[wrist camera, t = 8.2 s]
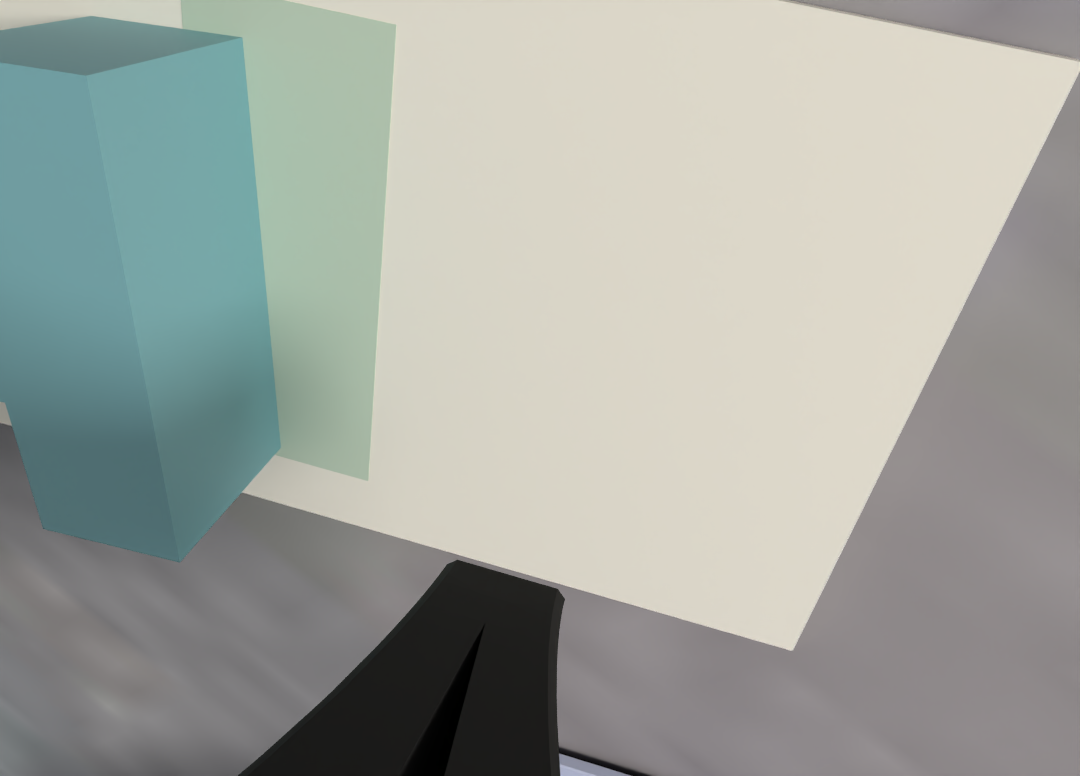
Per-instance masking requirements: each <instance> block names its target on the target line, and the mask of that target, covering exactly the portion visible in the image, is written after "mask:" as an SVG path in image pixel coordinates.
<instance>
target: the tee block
mask: <svg viewBox="0 0 1080 776" xmlns="http://www.w3.org/2000/svg"><path fill="white" fill-rule="evenodd" d="M0 402H4V403H5V404H6V408H7V411H8V414H9V418H10V421H11V424H12V427H13V431H14V434H15V437H16V441H17V444H18V447H19V451H20V454H21V457H22V460H23V464H24V467H25V470H26V474H27V477H28V480H29V483H30V487H31V490H32V493H33V497H34V500H35V503H36V507H37V510H38V513H39V516H40V520H41V523H42V526H43V529H46V530H50V531H54V532H58V533H62V534H66V535H70V536H74V537H78V538H83V539H87V540H91V541H95V542H99V543H103V544H107V545H111V546H115V547H119V548H123V549H127V550H131V551H135V552H139V553H143V554H148V555H152V556H156V557H160V558H164V559H168V560H172V561H176V562H181V561H182V559H183V558H184V557H185V556H186V555H187V554H188V553H189V552H190V550H191V549H192V548H193V547H194V546H195V545H196V544H197V542H198V541H199V540H200V539H201V538H202V537H203V536H204V534H205V533H206V532H207V531H208V530H209V529H210V528H211V527H212V525H213V524H214V523H215V522H216V521H217V520H218V519H219V517H220V516H221V515H222V514H223V513H224V512H225V511H226V510H227V508H228V507H229V506H230V505H231V504H232V503H233V502H234V500H235V499H236V498H237V497H238V496H239V495H240V494H241V492H242V491H243V490H244V489H245V488H246V487H247V486H248V485H249V483H250V482H251V481H252V480H253V479H254V478H255V477H256V475H257V474H258V473H259V472H260V471H261V470H262V469H263V468H264V466H265V465H266V464H267V463H268V462H269V461H270V460H271V458H272V457H273V456H274V455H275V454H276V453H277V452H278V451H279V449H280V448H281V443H280V432H279V421H278V411H277V400H276V389H275V379H274V368H273V357H272V347H271V336H270V325H269V315H268V304H267V293H266V283H265V272H264V262H263V251H262V240H261V230H260V219H259V208H258V198H257V187H256V176H255V166H254V155H253V144H252V134H251V123H250V112H249V102H248V91H247V80H246V70H245V59H244V48H243V38H242V37H236V36H229V35H222V34H215V33H208V32H201V31H194V30H187V29H180V28H173V27H166V26H159V25H152V24H145V23H138V22H131V21H124V20H117V19H110V18H103V17H96V16H88V17H81V18H75V19H68V20H62V21H56V22H49V23H43V24H37V25H30V26H24V27H18V28H11V29H5V30H0Z"/></svg>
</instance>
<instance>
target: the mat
mask: <svg viewBox="0 0 1080 776" xmlns="http://www.w3.org/2000/svg"><path fill="white" fill-rule="evenodd" d="M88 16H96V17H103V18H110V19H117V20H124V21H131V22H138V23H145V24H152V25H159V26H166V27H173V28H180V29H187V30H194V31H201V32H208V33H215V34H222V35H229V36H236V37H242V38H243V48H244V59H245V70H246V80H247V91H248V102H249V112H250V123H251V134H252V144H253V155H254V166H255V176H256V187H257V198H258V208H259V219H260V230H261V240H262V251H263V262H264V272H265V283H266V293H267V304H268V315H269V325H270V336H271V347H272V357H273V368H274V379H275V389H276V400H277V411H278V421H279V432H280V443H281V448H280V449H279V451H278V452H277V453H276V454H275V455H274V456H273V457H272V458H271V460H270V461H269V462H268V463H267V464H266V465H265V466H264V468H263V469H262V470H261V471H260V472H259V473H258V474H257V475H256V477H255V478H254V479H253V480H252V481H251V482H250V483H249V485H248V486H247V487H246V488H245V489H244V490H243V491H242V493H246V494H249V495H253V496H256V497H260V498H263V499H267V500H270V501H274V502H277V503H281V504H284V505H288V506H291V507H294V508H298V509H301V510H305V511H308V512H312V513H315V514H319V515H322V516H326V517H329V518H333V519H336V520H340V521H343V522H347V523H350V524H353V525H357V526H360V527H364V528H367V529H371V530H374V531H378V532H381V533H385V534H388V535H392V536H395V537H399V538H402V539H406V540H409V541H412V542H416V543H419V544H423V545H426V546H430V547H433V548H437V549H440V550H444V551H447V552H451V553H454V554H458V555H461V556H465V557H468V558H472V559H475V560H478V561H482V562H485V563H489V564H492V565H496V566H499V567H503V568H506V569H510V570H513V571H517V572H520V573H524V574H527V575H531V576H534V577H537V578H541V579H544V580H548V581H551V582H555V583H558V584H562V585H565V586H569V587H572V588H576V589H579V590H583V591H586V592H590V593H593V594H596V595H600V596H603V597H607V598H610V599H614V600H617V601H621V602H624V603H628V604H631V605H635V606H638V607H642V608H645V609H649V610H652V611H656V612H659V613H662V614H666V615H669V616H673V617H676V618H680V619H683V620H687V621H690V622H694V623H697V624H701V625H704V626H708V627H711V628H715V629H718V630H721V631H725V632H728V633H732V634H735V635H739V636H742V637H746V638H749V639H753V640H756V641H760V642H763V643H767V644H770V645H774V646H777V647H780V648H784V649H787V650H791V651H793V649H794V647H795V645H796V643H797V641H798V639H799V637H800V635H801V633H802V631H803V629H804V627H805V625H806V623H807V621H808V619H809V617H810V615H811V613H812V611H813V609H814V607H815V605H816V603H817V600H818V598H819V596H820V594H821V592H822V590H823V588H824V586H825V584H826V582H827V580H828V578H829V576H830V574H831V572H832V570H833V568H834V566H835V564H836V562H837V560H838V558H839V556H840V554H841V552H842V550H843V548H844V546H845V544H846V542H847V540H848V538H849V536H850V534H851V532H852V530H853V528H854V526H855V524H856V522H857V520H858V518H859V516H860V514H861V512H862V510H863V508H864V506H865V504H866V502H867V500H868V498H869V496H870V493H871V491H872V489H873V487H874V485H875V483H876V481H877V479H878V477H879V475H880V473H881V471H882V469H883V467H884V465H885V463H886V461H887V459H888V457H889V455H890V453H891V451H892V449H893V447H894V445H895V443H896V441H897V439H898V437H899V435H900V433H901V431H902V429H903V427H904V425H905V423H906V421H907V419H908V417H909V415H910V413H911V411H912V409H913V407H914V405H915V403H916V401H917V399H918V397H919V395H920V393H921V391H922V389H923V387H924V384H925V382H926V380H927V378H928V376H929V374H930V372H931V370H932V368H933V366H934V364H935V362H936V360H937V358H938V356H939V354H940V352H941V350H942V348H943V346H944V344H945V342H946V340H947V338H948V336H949V334H950V332H951V330H952V328H953V326H954V324H955V322H956V320H957V318H958V316H959V314H960V312H961V310H962V308H963V306H964V304H965V302H966V300H967V298H968V296H969V294H970V292H971V290H972V288H973V286H974V284H975V282H976V280H977V278H978V275H979V273H980V271H981V269H982V267H983V265H984V263H985V261H986V259H987V257H988V255H989V253H990V251H991V249H992V247H993V245H994V243H995V241H996V239H997V237H998V235H999V233H1000V231H1001V229H1002V227H1003V225H1004V223H1005V221H1006V219H1007V217H1008V215H1009V213H1010V211H1011V209H1012V207H1013V205H1014V203H1015V201H1016V199H1017V197H1018V195H1019V193H1020V191H1021V189H1022V187H1023V185H1024V183H1025V181H1026V179H1027V177H1028V175H1029V173H1030V171H1031V169H1032V166H1033V164H1034V162H1035V160H1036V158H1037V156H1038V154H1039V152H1040V150H1041V148H1042V146H1043V144H1044V142H1045V140H1046V138H1047V136H1048V134H1049V132H1050V130H1051V128H1052V126H1053V124H1054V122H1055V120H1056V118H1057V116H1058V114H1059V112H1060V110H1061V108H1062V106H1063V104H1064V102H1065V100H1066V98H1067V96H1068V94H1069V92H1070V90H1071V88H1072V86H1073V84H1074V82H1075V80H1076V78H1077V76H1078V74H1079V72H1080V61H1079V60H1077V59H1075V58H1071V57H1066V56H1061V55H1056V54H1051V53H1046V52H1041V51H1036V50H1031V49H1026V48H1021V47H1016V46H1011V45H1007V44H1002V43H997V42H992V41H987V40H982V39H977V38H972V37H967V36H962V35H957V34H952V33H948V32H943V31H938V30H933V29H928V28H923V27H918V26H913V25H908V24H903V23H898V22H893V21H889V20H884V19H879V18H874V17H869V16H864V15H859V14H854V13H849V12H844V11H839V10H834V9H830V8H825V7H820V6H815V5H810V4H805V3H800V2H795V1H790V0H0V30H5V29H11V28H18V27H24V26H30V25H37V24H43V23H49V22H56V21H62V20H68V19H75V18H81V17H88ZM0 423H3V424H6V425H10V426H12V424H11V421H10V418H9V414H8V411H7V408H6V404H5V403H4V402H0Z"/></svg>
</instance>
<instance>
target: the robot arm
mask: <svg viewBox="0 0 1080 776" xmlns="http://www.w3.org/2000/svg"><path fill="white" fill-rule="evenodd" d="M564 601H565V599H564V597H563V596H562V594H561V593H560V592H559V590H558V589H556V588H552V587H549V586H546V585H542V584H539V583H535V582H532V581H528V580H525V579H521V578H518V577H515V576H511V575H508V574H504V573H501V572H497V571H494V570H490V569H487V568H484V567H480V566H477V565H473V564H470V563H466V562H463V561H459V560H456V561H454V562H452V563H449V564H447V565H446V567H445V568H444V569H443V571H442V572H441V573H440V575H439V576H438V577H437V579H436V580H435V581H434V583H433V584H432V585H431V586H430V587H429V589H428V590H427V591H426V592H425V594H424V595H423V596H422V597H421V598H420V600H419V601H418V602H417V603H416V604H415V605H414V607H413V608H412V609H411V610H410V611H409V612H408V613H407V614H406V616H405V617H404V618H403V619H402V620H401V621H400V622H399V623H398V624H397V625H396V627H395V628H394V629H393V630H392V631H391V632H390V633H389V634H388V635H387V636H386V637H385V638H384V640H383V641H382V642H381V643H380V644H379V645H378V646H377V647H376V648H375V649H374V650H373V651H372V652H371V653H370V654H369V655H368V656H367V657H366V658H365V659H364V660H363V661H362V662H361V663H360V664H359V665H358V666H357V667H356V668H355V669H354V670H353V671H352V672H351V673H350V674H349V675H348V676H347V677H346V678H345V679H344V680H343V681H342V682H341V683H340V684H339V685H338V686H337V687H336V688H335V689H334V690H333V691H332V692H331V693H330V694H329V695H328V696H327V697H326V698H325V699H324V700H323V701H322V702H320V703H319V704H318V705H317V706H316V707H315V708H314V709H313V710H312V711H311V712H309V713H308V714H307V715H306V716H305V717H304V718H303V719H302V720H301V721H299V722H298V723H297V724H296V725H295V726H294V727H293V728H292V729H291V730H289V731H288V732H287V733H286V734H285V735H284V736H283V737H282V738H281V739H279V740H278V741H277V742H276V743H275V744H274V745H273V746H272V747H271V748H270V749H268V750H267V751H266V752H265V753H264V754H263V755H262V756H261V757H259V758H258V759H257V760H256V761H255V762H254V763H252V764H251V765H250V766H249V767H248V768H246V769H245V770H244V771H243V772H242V773H240V774H239V775H238V776H631V775H628V774H624V773H621V772H618V771H615V770H611V769H608V768H605V767H602V766H599V765H595V764H592V763H589V762H586V761H582V760H579V759H576V758H573V757H570V756H566V755H563V754H560V753H559V744H558V728H557V696H556V694H557V651H558V637H559V628H560V621H561V614H562V609H563V604H564Z"/></svg>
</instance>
